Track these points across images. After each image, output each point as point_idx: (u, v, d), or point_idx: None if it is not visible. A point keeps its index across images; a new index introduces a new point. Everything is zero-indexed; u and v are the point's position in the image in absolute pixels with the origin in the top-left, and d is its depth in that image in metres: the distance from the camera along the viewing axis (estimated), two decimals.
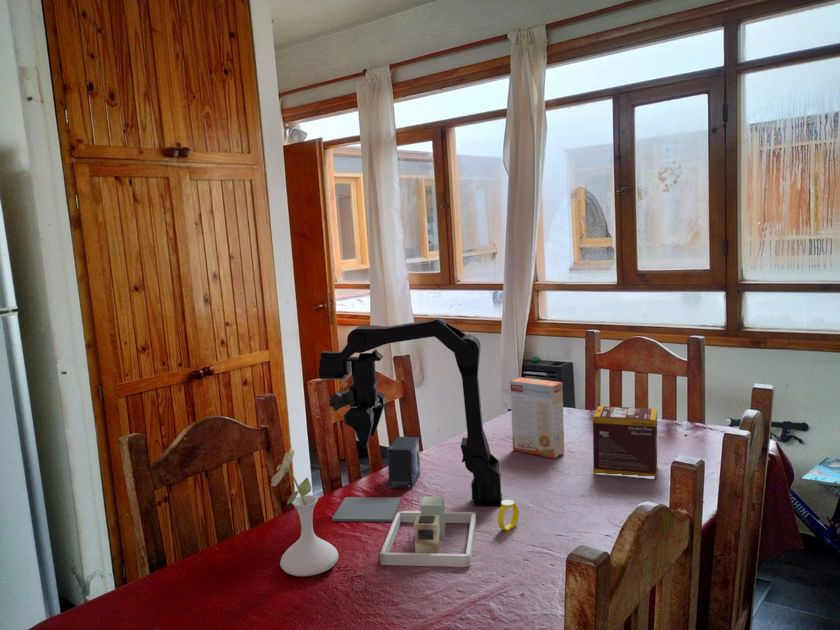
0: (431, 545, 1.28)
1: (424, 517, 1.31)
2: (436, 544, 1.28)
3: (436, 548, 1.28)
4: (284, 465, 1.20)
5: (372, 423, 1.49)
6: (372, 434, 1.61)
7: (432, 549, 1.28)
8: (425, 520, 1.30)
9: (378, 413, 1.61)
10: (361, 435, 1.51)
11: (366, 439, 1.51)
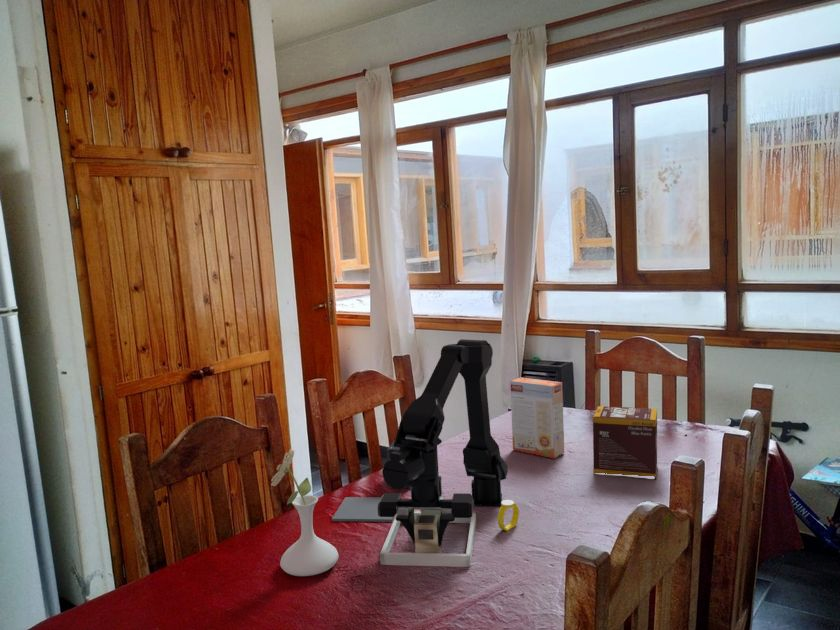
0: (431, 545, 1.28)
1: (424, 517, 1.31)
2: (436, 544, 1.28)
3: (436, 548, 1.28)
4: (284, 465, 1.20)
5: (403, 520, 1.28)
6: None
7: (432, 549, 1.28)
8: (425, 520, 1.29)
9: (439, 523, 1.28)
10: None
11: None
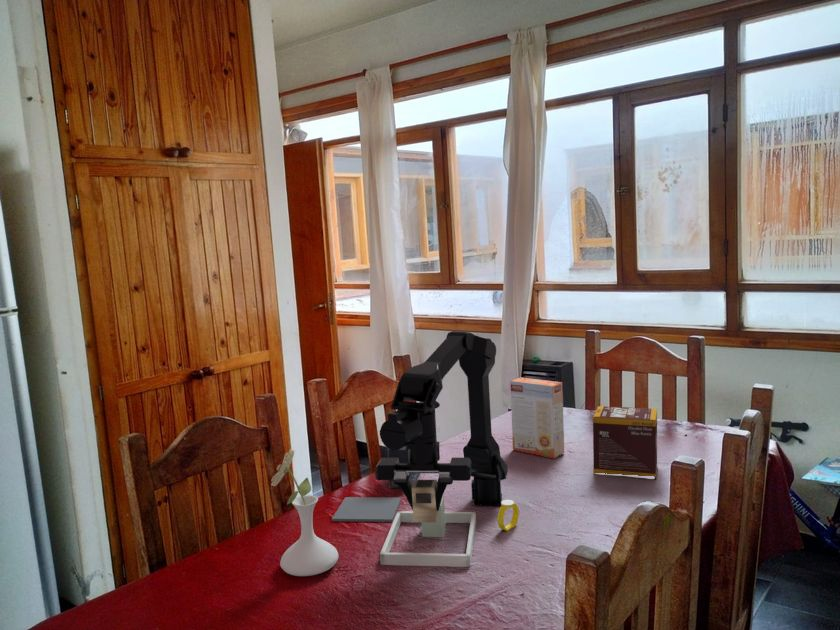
0: (429, 509, 1.27)
1: (422, 481, 1.30)
2: (434, 508, 1.27)
3: (434, 512, 1.27)
4: (284, 465, 1.20)
5: (401, 484, 1.27)
6: None
7: (430, 512, 1.27)
8: (423, 484, 1.28)
9: (437, 486, 1.27)
10: None
11: None
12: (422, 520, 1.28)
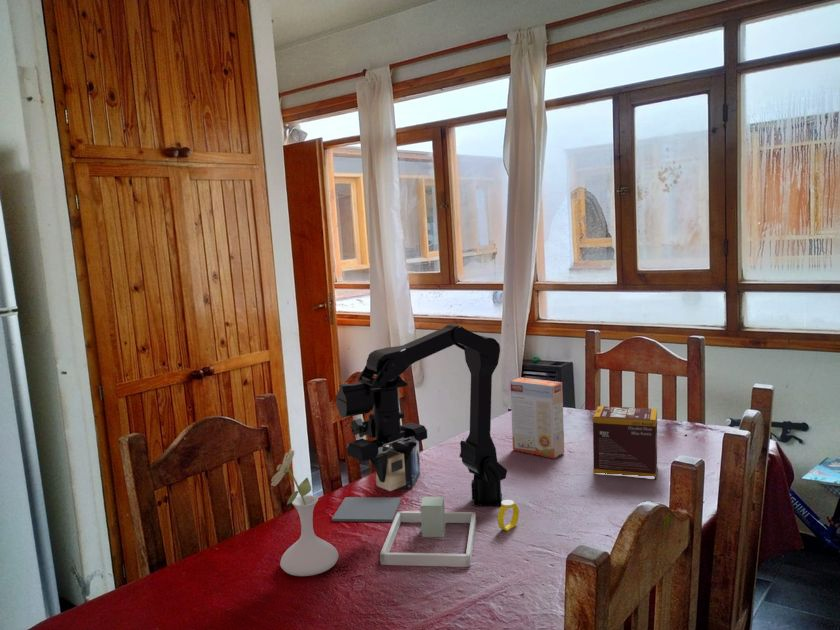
0: (400, 474, 1.40)
1: (385, 453, 1.40)
2: (404, 472, 1.41)
3: (404, 475, 1.41)
4: (284, 465, 1.20)
5: (383, 457, 1.35)
6: None
7: (401, 477, 1.40)
8: (390, 454, 1.40)
9: (404, 452, 1.41)
10: (377, 467, 1.38)
11: (381, 473, 1.38)
12: (396, 487, 1.39)
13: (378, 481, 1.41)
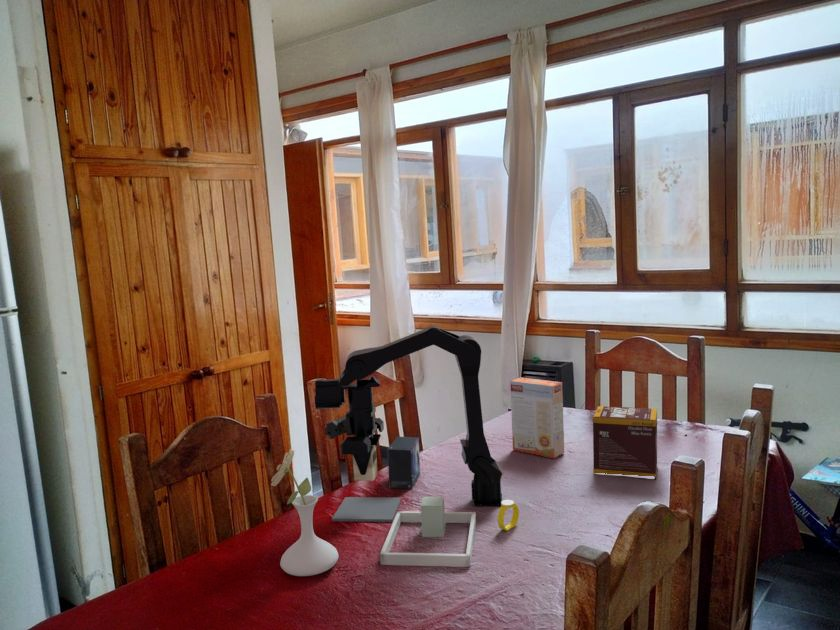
0: (375, 464, 1.52)
1: None
2: (376, 461, 1.53)
3: (376, 465, 1.53)
4: (284, 465, 1.20)
5: (371, 450, 1.46)
6: None
7: (376, 467, 1.52)
8: None
9: (374, 443, 1.53)
10: (360, 462, 1.47)
11: (365, 466, 1.48)
12: (374, 476, 1.51)
13: (356, 475, 1.49)
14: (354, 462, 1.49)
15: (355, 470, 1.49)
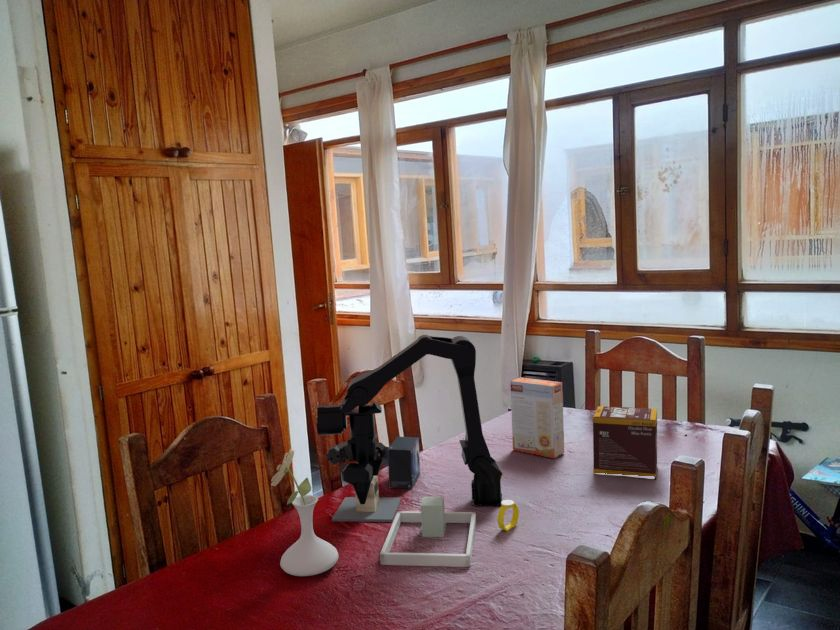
0: (377, 495, 1.53)
1: None
2: (378, 492, 1.54)
3: (378, 495, 1.54)
4: (284, 465, 1.20)
5: (371, 479, 1.45)
6: None
7: (377, 497, 1.53)
8: None
9: (377, 465, 1.56)
10: (360, 491, 1.46)
11: (365, 495, 1.46)
12: (376, 507, 1.52)
13: (358, 506, 1.50)
14: None
15: (357, 501, 1.50)
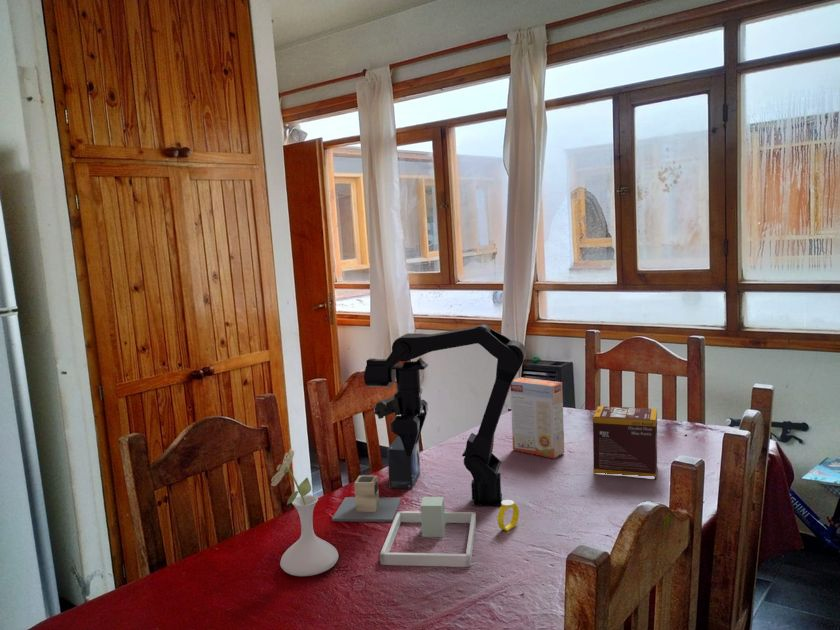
0: (377, 495, 1.53)
1: (362, 479, 1.51)
2: (378, 492, 1.54)
3: (378, 495, 1.54)
4: (284, 465, 1.20)
5: (418, 431, 1.50)
6: None
7: (377, 497, 1.53)
8: (368, 478, 1.51)
9: (421, 421, 1.61)
10: (407, 443, 1.51)
11: (412, 447, 1.52)
12: (376, 507, 1.52)
13: (358, 506, 1.50)
14: (356, 493, 1.50)
15: (357, 501, 1.50)
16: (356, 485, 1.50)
